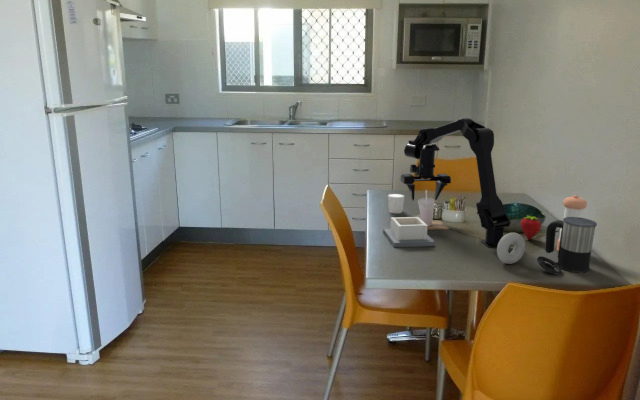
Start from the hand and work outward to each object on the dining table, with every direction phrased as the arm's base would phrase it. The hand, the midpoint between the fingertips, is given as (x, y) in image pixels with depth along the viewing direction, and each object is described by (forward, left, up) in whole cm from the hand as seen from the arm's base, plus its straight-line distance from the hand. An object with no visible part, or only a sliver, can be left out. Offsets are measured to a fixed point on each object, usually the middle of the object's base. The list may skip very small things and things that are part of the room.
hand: (424, 200), depth 208 cm
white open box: (-23, +13, -8) cm, 28 cm away
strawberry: (-27, -30, -8) cm, 41 cm away
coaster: (-8, 0, -8) cm, 11 cm away
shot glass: (+13, +8, -8) cm, 17 cm away
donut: (-49, -12, -8) cm, 51 cm away
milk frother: (-55, -26, -8) cm, 62 cm away
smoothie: (-8, +1, -8) cm, 11 cm away
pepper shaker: (-40, -37, -8) cm, 55 cm away
